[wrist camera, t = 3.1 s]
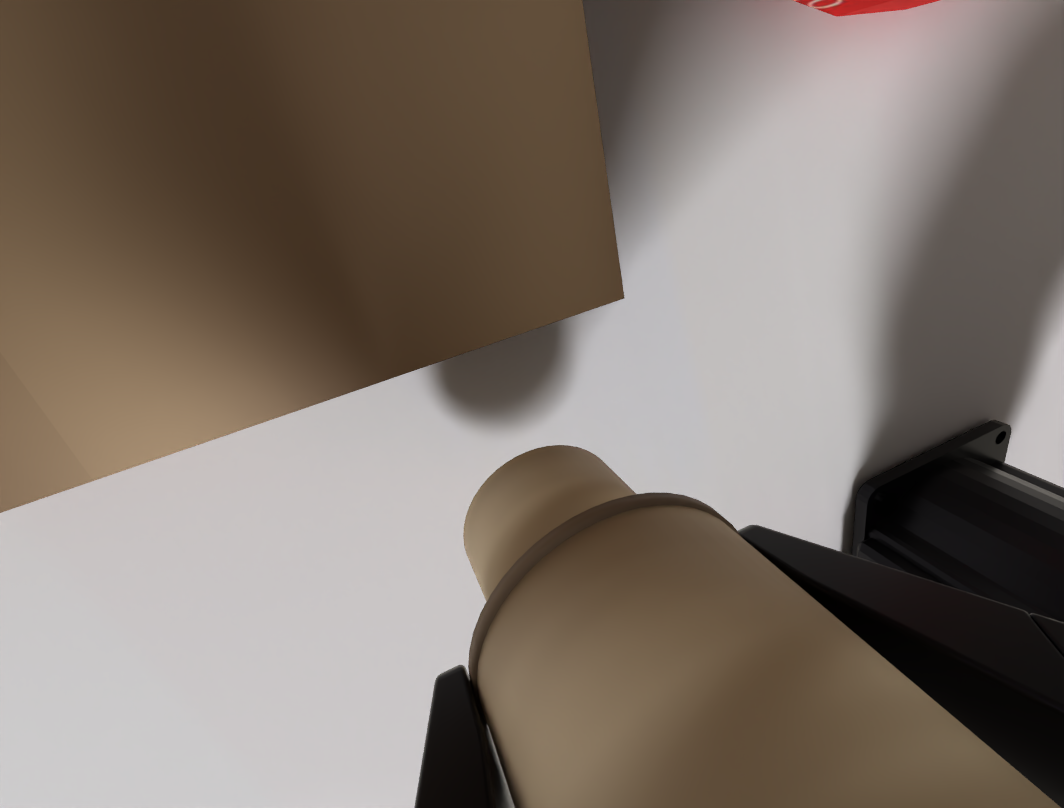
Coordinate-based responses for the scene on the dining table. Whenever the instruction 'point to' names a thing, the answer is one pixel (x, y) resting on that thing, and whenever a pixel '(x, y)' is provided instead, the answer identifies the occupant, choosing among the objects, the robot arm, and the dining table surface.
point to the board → (276, 210)
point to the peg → (687, 664)
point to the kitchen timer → (861, 5)
